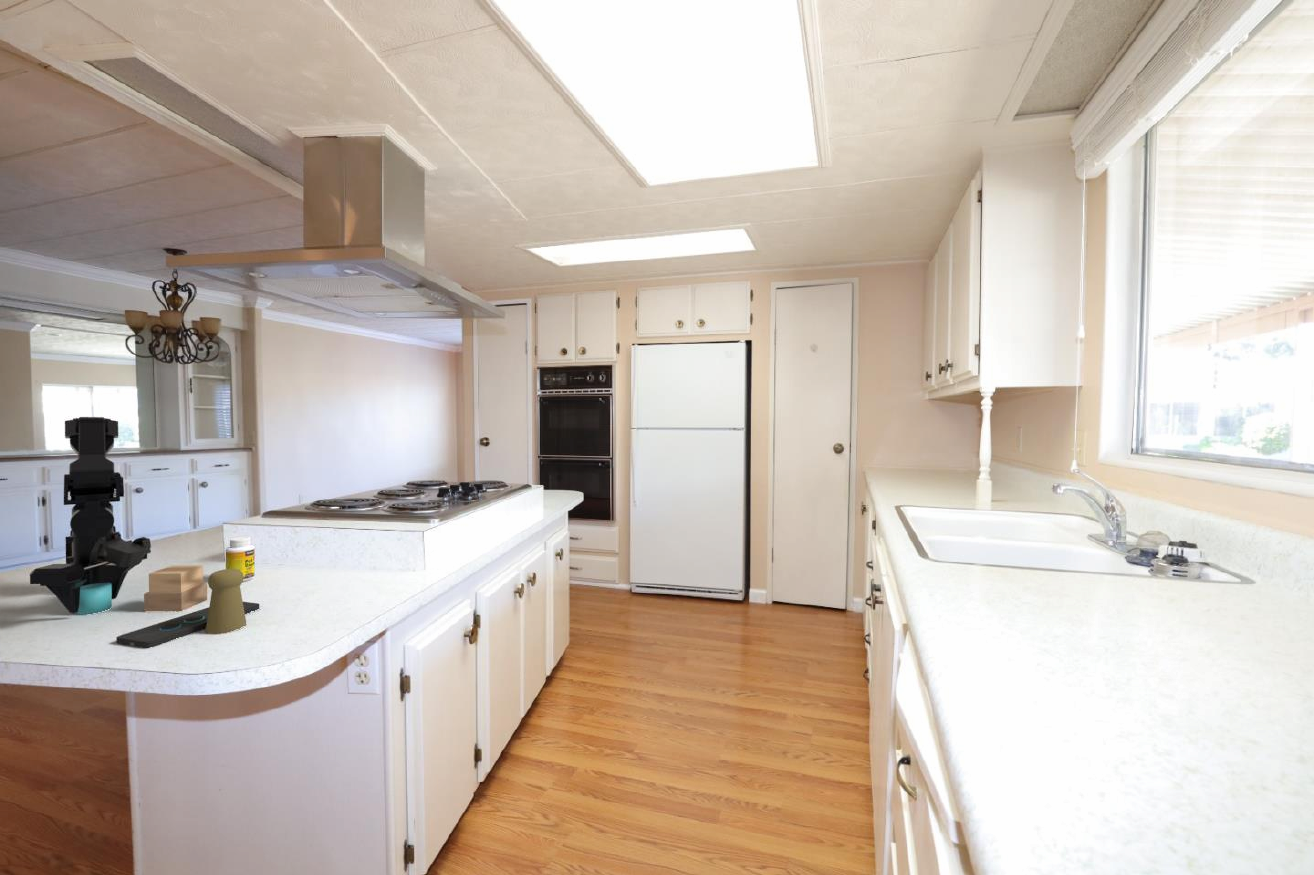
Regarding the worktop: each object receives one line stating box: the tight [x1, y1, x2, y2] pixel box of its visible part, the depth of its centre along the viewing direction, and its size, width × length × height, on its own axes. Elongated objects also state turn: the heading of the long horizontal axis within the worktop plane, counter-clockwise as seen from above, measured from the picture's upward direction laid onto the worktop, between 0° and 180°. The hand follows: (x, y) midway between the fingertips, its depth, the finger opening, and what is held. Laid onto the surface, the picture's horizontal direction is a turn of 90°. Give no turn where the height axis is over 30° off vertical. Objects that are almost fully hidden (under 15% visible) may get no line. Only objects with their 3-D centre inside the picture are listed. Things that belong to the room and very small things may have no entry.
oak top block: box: [148, 564, 204, 593], centre depth 110 cm, size 6×6×4 cm
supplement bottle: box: [225, 536, 256, 583], centre depth 128 cm, size 6×6×10 cm
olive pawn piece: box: [205, 568, 247, 635], centre depth 99 cm, size 6×6×11 cm
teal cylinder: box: [75, 583, 113, 616], centre depth 107 cm, size 5×5×5 cm
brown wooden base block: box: [143, 582, 208, 613], centre depth 111 cm, size 7×7×4 cm
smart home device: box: [115, 601, 260, 649], centre depth 101 cm, size 8×2×20 cm
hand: (94, 605), depth 107 cm, fingers open, 8 cm apart
